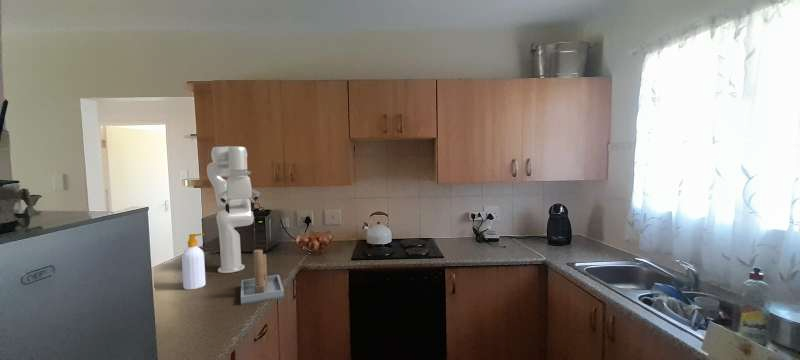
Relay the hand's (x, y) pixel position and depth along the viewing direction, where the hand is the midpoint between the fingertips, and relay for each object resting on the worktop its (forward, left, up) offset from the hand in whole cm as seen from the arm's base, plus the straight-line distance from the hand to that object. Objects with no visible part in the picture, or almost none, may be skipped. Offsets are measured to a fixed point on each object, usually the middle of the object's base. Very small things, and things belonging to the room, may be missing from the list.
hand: (240, 211), depth 156 cm
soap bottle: (-8, -20, -34) cm, 40 cm away
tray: (+14, +7, -33) cm, 37 cm away
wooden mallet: (+14, +7, -33) cm, 36 cm away
